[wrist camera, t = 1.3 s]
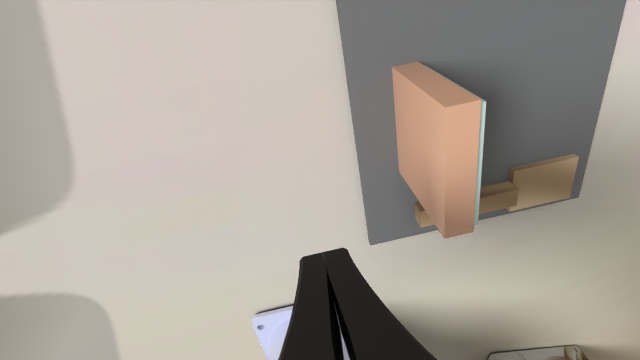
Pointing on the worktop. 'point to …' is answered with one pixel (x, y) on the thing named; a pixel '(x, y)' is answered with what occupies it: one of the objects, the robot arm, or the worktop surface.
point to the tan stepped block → (523, 187)
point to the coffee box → (542, 354)
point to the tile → (440, 145)
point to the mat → (477, 85)
